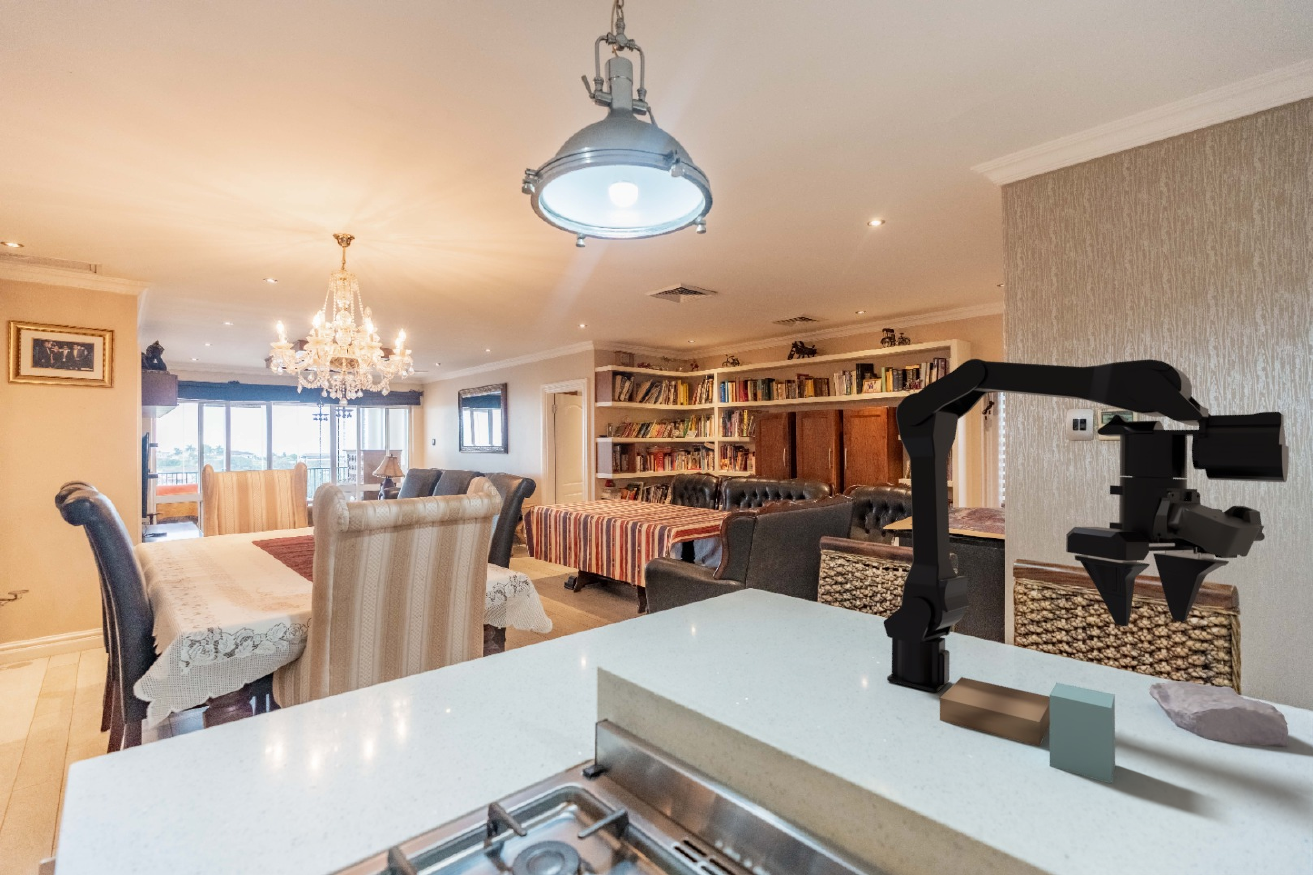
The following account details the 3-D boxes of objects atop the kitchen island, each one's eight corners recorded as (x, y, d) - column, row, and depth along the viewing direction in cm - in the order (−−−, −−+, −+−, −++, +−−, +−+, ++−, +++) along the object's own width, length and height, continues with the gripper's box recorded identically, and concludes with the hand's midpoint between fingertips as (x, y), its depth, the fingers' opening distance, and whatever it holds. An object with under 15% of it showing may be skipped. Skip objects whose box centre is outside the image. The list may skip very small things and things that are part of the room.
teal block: (1049, 766, 62) (1049, 694, 62) (1056, 749, 66) (1056, 682, 66) (1111, 783, 59) (1111, 708, 59) (1115, 764, 63) (1114, 694, 63)
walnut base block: (939, 723, 73) (939, 697, 73) (961, 700, 80) (961, 677, 80) (1039, 750, 66) (1039, 721, 66) (1052, 722, 74) (1052, 697, 74)
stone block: (1199, 757, 69) (1303, 749, 67) (1188, 712, 70) (1290, 704, 68) (1140, 719, 81) (1227, 712, 79) (1130, 681, 81) (1217, 673, 80)
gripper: (1180, 478, 56) (1179, 652, 56) (1300, 483, 63) (1300, 639, 62) (1063, 474, 67) (1061, 620, 66) (1176, 478, 73) (1175, 612, 73)
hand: (1151, 623), depth 67 cm, fingers open, 9 cm apart
